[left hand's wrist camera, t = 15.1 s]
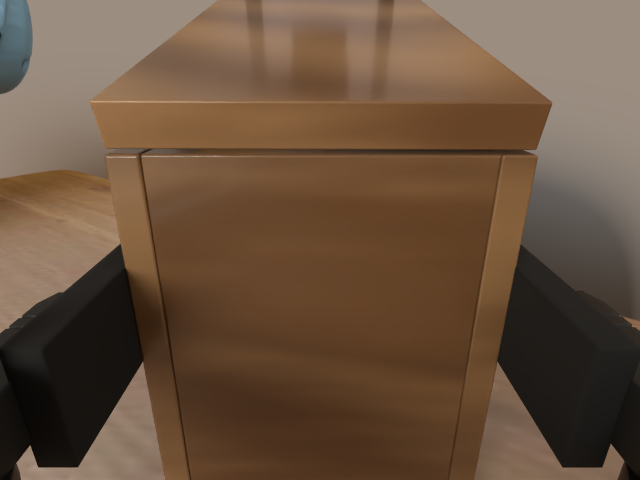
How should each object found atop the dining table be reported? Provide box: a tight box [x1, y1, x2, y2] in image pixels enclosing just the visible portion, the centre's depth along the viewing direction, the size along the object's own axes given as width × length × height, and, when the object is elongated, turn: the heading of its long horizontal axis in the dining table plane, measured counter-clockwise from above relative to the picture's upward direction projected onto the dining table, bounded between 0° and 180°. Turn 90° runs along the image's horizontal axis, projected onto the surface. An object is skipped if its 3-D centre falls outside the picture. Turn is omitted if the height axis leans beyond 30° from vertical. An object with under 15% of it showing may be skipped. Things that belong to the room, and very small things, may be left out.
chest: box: [105, 149, 538, 480], centre depth 19 cm, size 17×9×11 cm, turn 0°
